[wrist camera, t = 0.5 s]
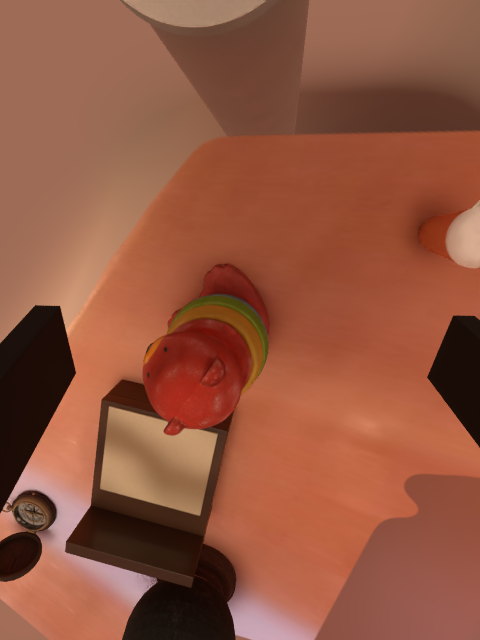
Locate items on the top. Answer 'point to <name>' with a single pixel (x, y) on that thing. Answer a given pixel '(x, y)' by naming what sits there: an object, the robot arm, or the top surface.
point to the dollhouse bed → (149, 490)
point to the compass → (25, 535)
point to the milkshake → (454, 236)
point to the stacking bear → (208, 353)
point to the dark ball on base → (188, 605)
